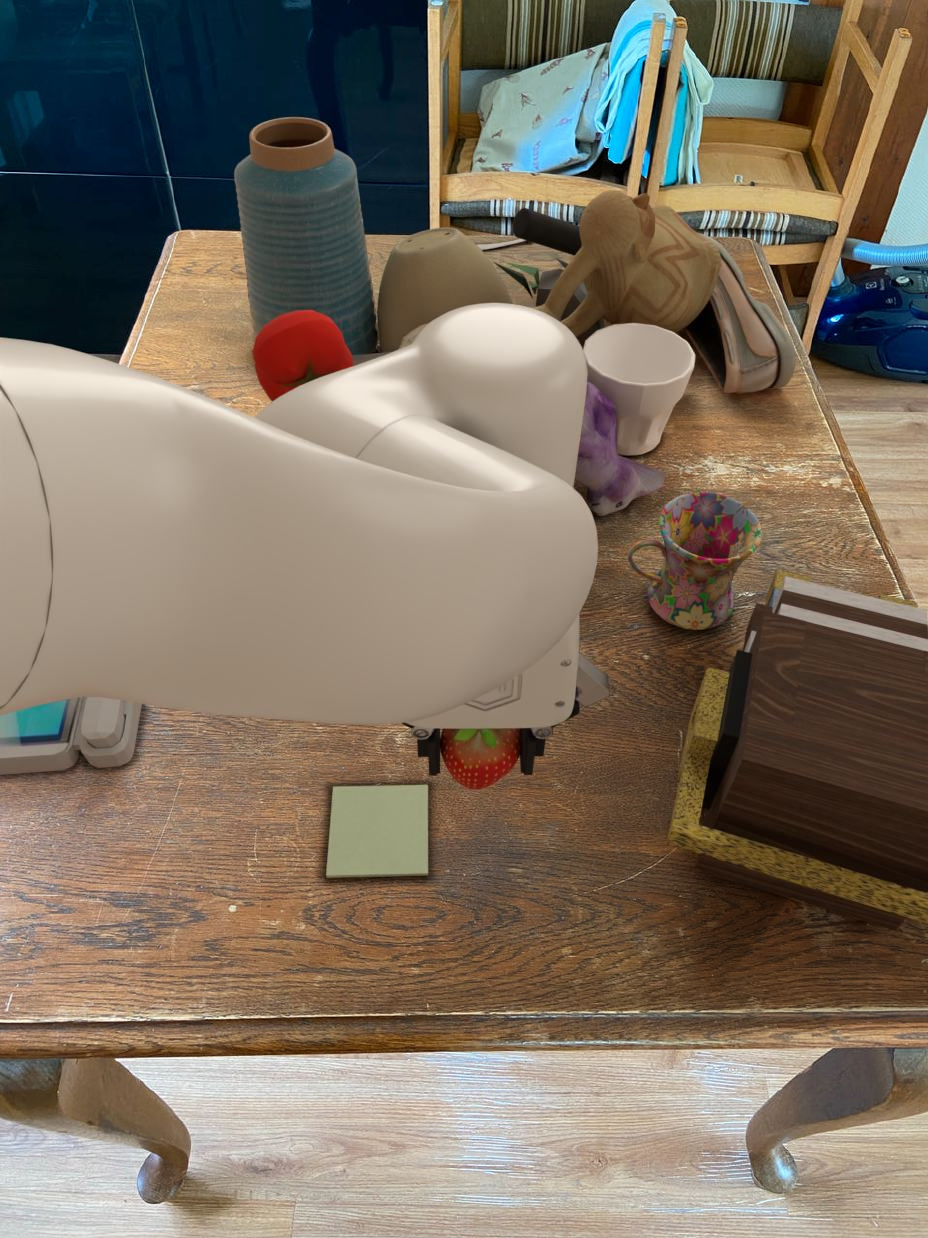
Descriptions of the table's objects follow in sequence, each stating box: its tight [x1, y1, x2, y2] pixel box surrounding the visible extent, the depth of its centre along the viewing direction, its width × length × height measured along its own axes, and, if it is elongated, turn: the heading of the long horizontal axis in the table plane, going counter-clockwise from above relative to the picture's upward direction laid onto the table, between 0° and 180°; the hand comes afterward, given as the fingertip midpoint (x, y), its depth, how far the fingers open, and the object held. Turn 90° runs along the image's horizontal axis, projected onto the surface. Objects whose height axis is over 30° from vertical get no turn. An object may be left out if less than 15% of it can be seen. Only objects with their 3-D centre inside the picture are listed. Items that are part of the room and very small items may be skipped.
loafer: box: [680, 232, 797, 394], centre depth 118 cm, size 11×30×9 cm
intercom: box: [0, 697, 143, 776], centre depth 84 cm, size 13×4×25 cm
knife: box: [476, 238, 530, 251], centre depth 139 cm, size 19×2×1 cm, turn 107°
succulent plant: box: [491, 257, 605, 349], centre depth 123 cm, size 16×20×9 cm
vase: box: [233, 116, 379, 355], centre depth 110 cm, size 16×16×27 cm
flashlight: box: [512, 207, 582, 257], centre depth 124 cm, size 5×24×5 cm
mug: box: [626, 491, 763, 631], centre depth 86 cm, size 12×9×11 cm
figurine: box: [574, 382, 666, 517], centre depth 98 cm, size 9×10×15 cm
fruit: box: [440, 728, 521, 791], centre depth 58 cm, size 5×5×8 cm
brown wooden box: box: [666, 568, 928, 932], centre depth 72 cm, size 21×15×30 cm
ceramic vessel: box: [532, 189, 722, 337], centre depth 109 cm, size 17×20×25 cm
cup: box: [583, 323, 696, 456], centre depth 104 cm, size 12×12×11 cm
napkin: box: [325, 784, 429, 879], centre depth 74 cm, size 8×8×1 cm
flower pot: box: [376, 227, 514, 353], centre depth 115 cm, size 18×18×12 cm
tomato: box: [251, 310, 354, 402], centre depth 92 cm, size 10×11×6 cm
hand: (480, 754), depth 59 cm, fingers closed on fruit, 5 cm apart
